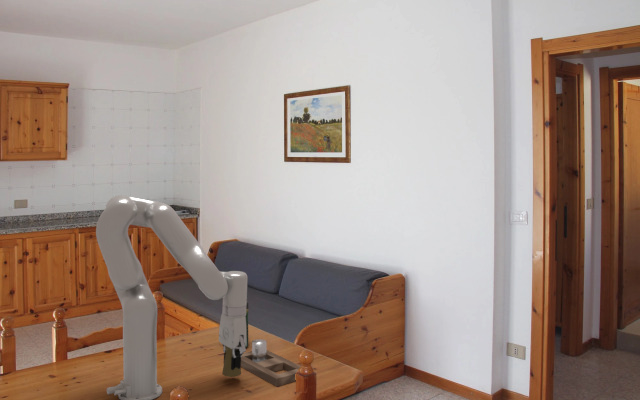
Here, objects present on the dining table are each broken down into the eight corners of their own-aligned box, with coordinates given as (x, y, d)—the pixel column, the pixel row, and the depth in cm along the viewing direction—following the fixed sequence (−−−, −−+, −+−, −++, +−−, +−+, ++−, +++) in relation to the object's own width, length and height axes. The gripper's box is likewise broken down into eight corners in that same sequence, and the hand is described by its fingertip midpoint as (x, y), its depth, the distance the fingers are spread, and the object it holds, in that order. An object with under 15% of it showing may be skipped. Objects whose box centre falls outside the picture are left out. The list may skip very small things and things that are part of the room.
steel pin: (257, 367, 187) (257, 344, 187) (249, 363, 191) (249, 341, 191) (269, 364, 190) (269, 342, 190) (261, 360, 194) (261, 338, 194)
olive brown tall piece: (237, 377, 172) (238, 343, 171) (219, 375, 173) (220, 341, 173) (243, 371, 178) (245, 337, 177) (226, 369, 179) (227, 335, 178)
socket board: (276, 386, 171) (276, 378, 171) (233, 362, 192) (233, 355, 192) (308, 377, 179) (308, 369, 179) (263, 355, 200) (263, 348, 200)
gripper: (211, 306, 179) (209, 361, 179) (237, 318, 166) (235, 377, 166) (231, 303, 183) (229, 357, 184) (258, 314, 170) (256, 372, 171)
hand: (232, 366), depth 175 cm, fingers closed on olive brown tall piece, 4 cm apart
